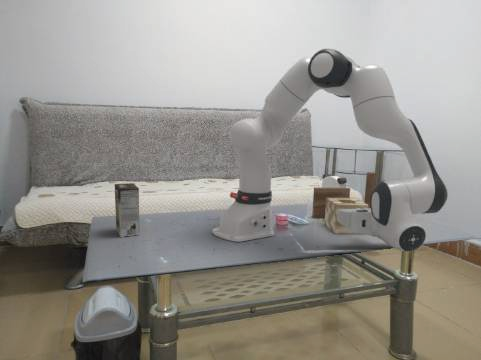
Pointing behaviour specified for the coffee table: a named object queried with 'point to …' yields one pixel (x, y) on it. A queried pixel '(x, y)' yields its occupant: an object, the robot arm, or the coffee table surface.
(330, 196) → the jig
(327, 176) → the panda figurine
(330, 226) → the socket block
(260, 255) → the coffee table surface
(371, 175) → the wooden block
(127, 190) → the coffee box
